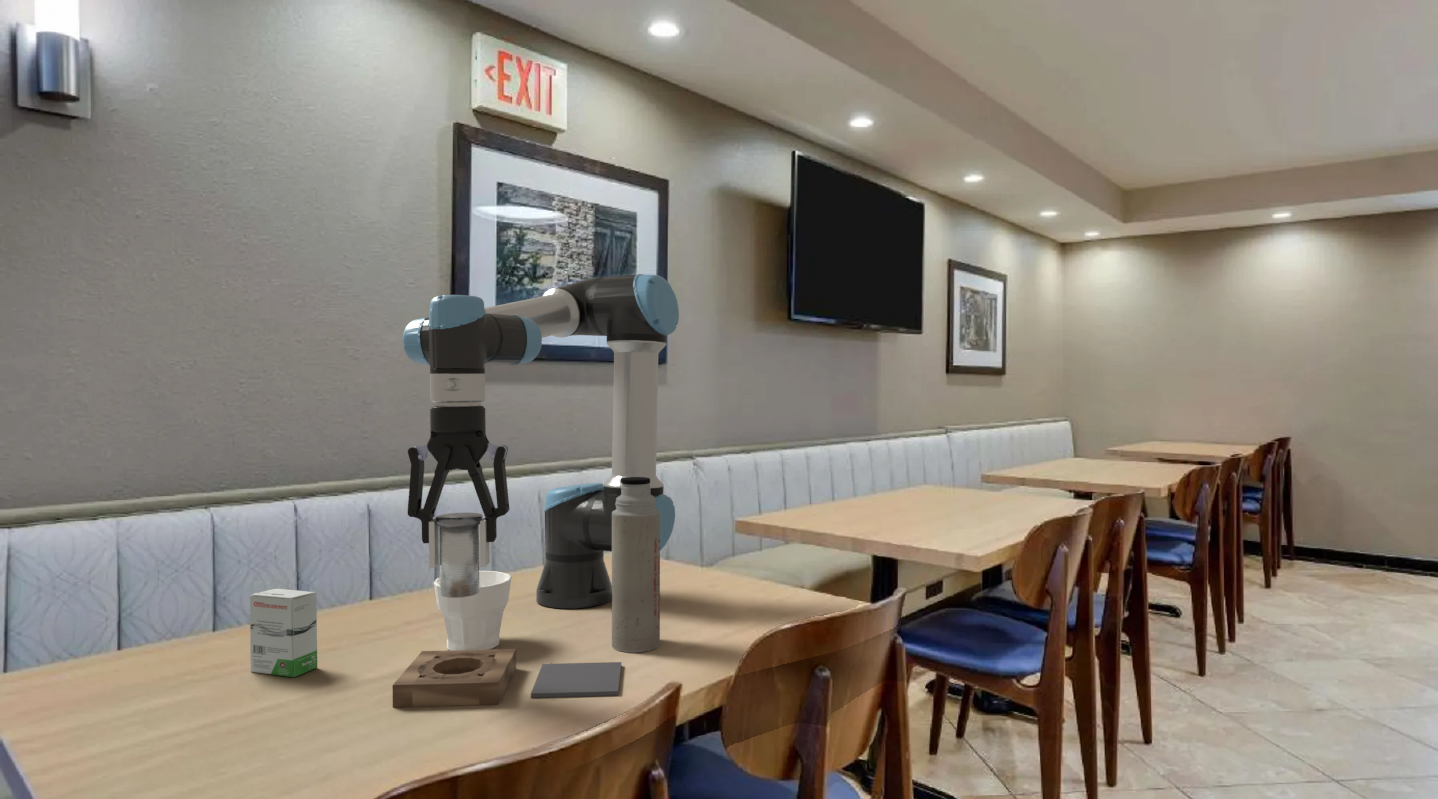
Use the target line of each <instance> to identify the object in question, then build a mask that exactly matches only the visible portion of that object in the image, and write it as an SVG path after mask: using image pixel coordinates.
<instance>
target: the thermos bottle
mask: <svg viewBox="0 0 1438 799" xmlns="http://www.w3.org/2000/svg"><path fill="white" fill-rule="evenodd" d="M621 483H622V487H621V495H620V496H619V497H617V498H616V503H615V505H616V510H614V511H613V512H612V552H611V584H612V599H611V601H612V602H611V604H612V605H611V648H613V650H616V651H619V652H622V653H645V652H650V651H653V650H656V649H658V648H659V647H660V645H661V638H660V637H661V628H660V627H661V596H660V595H661V576H660V575H661V550H660V511H659V510H656V504H657V503H656V498H655V497H654V496H652V495H651V487H650V478H646V477H626V478H621Z"/></svg>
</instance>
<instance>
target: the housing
mask: <svg viewBox="0 0 1438 799" xmlns="http://www.w3.org/2000/svg"><path fill="white" fill-rule="evenodd" d="M516 669H517V649H516V648H507V649H506V648H504V649H503V648H502V649H500V648H499V649H498V648H497V649H495V648H493V649H490V650H448V649H447V650H421V652H420V653H419V654H418V655H417V656H416V658H414V660H413V661H412V662H411V664H410V665H409V666H408V667H407V668H406V669H404V671H403V673H401V675H400V676H399V677H398V678H397V680H395V681H394V683H393V684H392V708H410V707H411V708H414V707H416V708H417V707H447V706H451V707H452V706H478V705H479V706H485V705H486V706H488V705H489V706H490V705H499V704H500V702H501V701H502V699H503V696H504V694H505V692H506V690H507V688H508V686H509V684H510V682H511V679H512V677H513V676H514V674H515V672H516Z"/></svg>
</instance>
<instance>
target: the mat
mask: <svg viewBox="0 0 1438 799" xmlns="http://www.w3.org/2000/svg"><path fill="white" fill-rule="evenodd" d="M621 673H622V661H613V662H612V661H611V662H610V661H609V662H605V661H604V662H568V663H567V662H566V663H562V662H561V663H542V665H541V668H540V669H539V672H538V674H537V676H536V680H535V682H534V685H533V687H532V689H531V692H530V698H531V699H533V698H534V699H535V698H536V699H537V698H538V699H539V698H567V697H569V698H570V697H571V698H572V697H573V698H574V697H575V698H576V697H608V696H619V690H620V682H621V681H620V680H621Z"/></svg>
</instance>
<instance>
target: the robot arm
mask: <svg viewBox="0 0 1438 799" xmlns="http://www.w3.org/2000/svg"><path fill="white" fill-rule="evenodd" d="M428 312H429V314H428V317H427V316H425V317H423V318H417V319H413V320H411V321H410V322H409V323H408V324H407V325H406V326H405V328H404V331H403V334H402V343H403V344H402V346H403V351H404V352H405V354H406V356H407V357H408V358H409V359H410V360H411V361H412V362H414V363H416V364H419V365H428V366H429V401H430V402H432V403H434V406H431V408H430V409H429V417H430V418H429V419H430V420H429V421H430V422H429V423H430V426H429V427H430V429H429V430H430V434H429V435H430V436H429V439H428V441H427V442H426V443H425V444H423V445H420V446H418V445H415V446H412V447H409V448H408V449H407V454H408V459H409V462H410V475H409V487H408V502H407V515H408V517H410V518H416V519H418V520H419V521H420V522H421V540H422V543H423V544H428V553H429V554H428V559H429V561H428V563H429V564H428V567H429V569H432V568H433V569H436V568H437V566H440V532H439V526H436V518H434V517H435V516H436V514H435V512H436V511H437V507H438V505H439V504H438V503H439V501H440V497H441V495H442V492H443V489H444V486H445V484H446V479H447V477H448V475H449V473H450V471H453V470H462V471H467V473H468V476H469V477H470V478H471V479H470V480H471V482H472V484H473V488H474V490H475V493H476V495H477V498H478V501H479V503H480V507H481V509H482V512H483V515H484V517H483V519H482V520H481V521H480V524H479V568H486V567H487V566H488V565H489V563H490V543H494V542H495V541H496V539H497V535H498V534H497V531H498V530H497V519H498V518H499V517H502V516H505V515H507V514H508V513H509V511H510V502H509V500H510V499H509V489H508V480H507V470H506V459H507V458H506V457H507V455H508V451H509V448H508V447H507V445H505V444H504V445H503V444H502V445H498V444H494V443H491V442H490V441H489V439H488V437H487V430H486V407H484V405H482V402H485V401H486V365H494V364H495V365H498V364H499V365H501V364H502V365H503V364H504V365H508V364H509V365H515V366H517V365H520V364H523V365H524V364H527V363H531V362H532V361H533V360H534V359H536V357H538V356H539V354H540V351H541V349H542V344H543V342H542V341H543V338H546V337H550V336H553V337H555V338H567V337H571V336H592V337H593V336H595V337H603V336H604V337H606V344H607V346H608V347H609V348H610V350H612V351H613V354H614V355H613V393H612V394H613V398H612V401H613V402H612V444H611V446H612V447H611V448H612V449H611V450H612V452H611V476H610V477H609V478H608V479H607V480H605V482H604V483H602V482H591V483H590V482H589V483H581V484H574V485H573V484H572V485H568V486H559V487H554V488H551V489H550V490H548V492H547V493H546V494H545V505H544V510H543V512H544V541H545V543H544V546H545V547H544V548H545V550H544V551H545V553H544V555H545V557H544V558H545V559H544V565H543V569H542V571H541V574H540V578H539V580H538V584H537V587H536V592H535V593H536V594H535V595H536V599H535V600H536V603H537V604H538V605H541V606H544V607H547V608H554V609H582V608H583V609H584V608H589V607H590V608H591V607H596V606H600V605H603V604H607V603H608V602H610V601H612V580H611V579H610V575H609V573H608V570H607V567H606V562H605V558H604V556H605V555H604V552H609V553H610V552H611V553H612V512H613V511H614V510H616V505H615V503H616V498H617V497H619V496H620V495H621V487H622V483H621V478H626V477H646V478H650V487H651V495H652V496H654V497H655V498H656V503H657V504H656V510H659V511H660V551H661V550H663V549H664V548H665V546H666V545H667V543H668V541H669V540H670V537H671V536H672V533H673V529H674V527H675V526H674V525H675V521H676V507H675V505H674V501H673V499H672V498H671V497H669V496H668V495H666V494H664V483H663V482H662V481H661V480H660V479H659V478H658V476H657V448H658V447H657V442H658V438H657V437H658V436H657V435H658V394H659V393H658V390H659V389H658V388H659V387H658V386H659V385H658V384H659V381H658V380H659V354H660V352H661V351H662V350H663V349H664V348H665V347H666V346H667V336H669V335H670V334H673V333H674V332H675V331H676V330H677V326H678V324H679V319H680V318H679V317H680V311H679V304H678V300H677V297H676V294H675V291H674V290H673V288H672V286H671V284H670V282H668V280H666V279H665V278H664V277H663V276H661V275H658V274H644V273H642V274H641V273H637V274H631V275H618V276H603V277H592V278H588V279H584V280H582V281H577V282H573V283H570V284H566V285H564V286H560V287H555V288H550V289H548V290H547V291H545V292H544V293H543V294H542V295H541V296H537V297H533V298H528V299H523V300H517V301H514V302H513V301H512V302H508V303H503V304H499V305H497V304H496V305H493V306H489V307H485V302H484V300H483V298H481V297H478V296H475V295H468V294H467V295H465V294H464V295H463V294H443V295H437V296H435V297H433V298H431V300H430V303H429V311H428ZM487 451H488V453H489V458H490V459H491V460H492V461H493V466H492V467H493V475H494V486H495V496H496V507H495V504H494V501H493V497H492V496H491V492H490V490H489V487H488V485H487V481H486V478H485V475H484V472H483V468H482V465H481V462H480V461H481V459H482V458H483V456H484V455H485V454H486V452H487ZM428 453H430V454H431V456H432V457H433V458H434V459H435V461H436V462H437V463H436V467H435V468H434V469H435V470H434V475H433V478H432V481H431V484H430V487H429V491H428V492H427V493H428V494H427V496H426V499H425V501H424V505H423V507H422V501H423V489H424V487H423V486H424V478H425V477H424V476H425V460H427V459H428V458H427V457H428Z"/></svg>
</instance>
